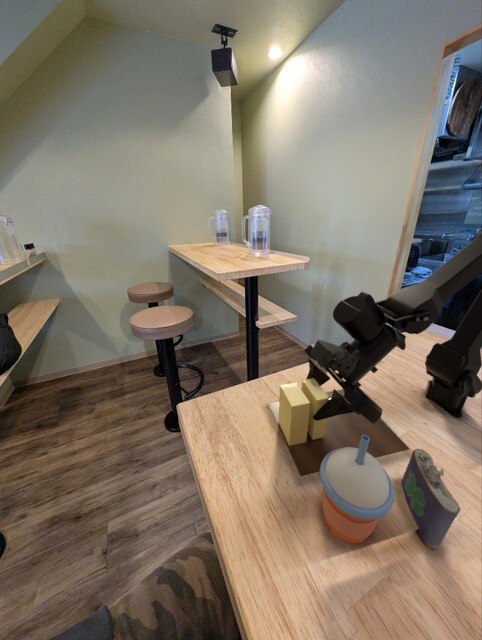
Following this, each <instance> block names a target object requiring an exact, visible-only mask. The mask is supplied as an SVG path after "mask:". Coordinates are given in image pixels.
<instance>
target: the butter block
mask: <svg viewBox="0 0 482 640" xmlns="http://www.w3.org/2000/svg"><path fill="white" fill-rule="evenodd" d="M301 389H302V387H300V385H299V383H298V382H291V383H287V384H286V383H285V384H280V385H279V397H278V398H279V399H278V401H279V425H280V427H281V429H282V431H283V433H284V436H285V438H286V440H287V442H288V444H289V446H291V445H296V444H300V443H305V442H306V440H307V430H308V421H309V411H310V402H309V400H308V399H307V397H306V396H305V394H304V393H303V391H302V390H301Z"/></svg>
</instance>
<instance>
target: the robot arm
mask: <svg viewBox="0 0 482 640" xmlns="http://www.w3.org/2000/svg"><path fill="white" fill-rule="evenodd" d="M481 274H482V230H481V231H478V232H477V233H476V234H475V235H474V236H473V237H472V240H471V241H470V242H469V243H468V244H467V245H466V246H464V247H463V248H462V249H461V250H459V251H458V252H457V253H456V254H454V255H453V256H452V257H451V258H449V259H448V260H447V261H446V262H445V263H443V264H442V265H441V266H440V267H438V268H437V269H436V270H435V271H433V272H432V273H431V274H429V275H428V276H427V277H426V278H425V279H424V280H422V281H420V282H419V283H416V284H412V285H409V286H406V287H403V288H401V289H399V290H398V291H396V292H395V293H393V294H392V295H390V296H388V297H387V298H386V299H381V300H378V301H375V299H374V297H373V296H372V295H371V294H370V293H368V292H365V291H362V290H361V291H360V293H359V294H357V295H352V296H349V297H346V298H345V299H343V300H340V301H339V302H338V303H337V304H336V306H335V307H334V308H333V312H332V318H333V320H334V321H335V322H336V323H337V324H338V325H339V326H340V327H341V328H342V329H343V330H344V331H345V332H346V333H347V334H348V335H349V336H350V337H351V339H353V341H352V342H351V343H349V342H348V341H343V342H342V343H341V344H340V345H336V344H334V343H332V342H328V341H326V340H323V339H317V340H316V342H315V343H310V344H309V345H308V346H307V347H306V348H305V349H304V350H303V351H304V353H306V355H307V356H308V357H309V358H308V359H307V362H308V367H309V368H308V369H309V370H308V374H307V376H306V378H305V380H306V379H311V378H314V379H315V380H316V382H317V383H318V384H319V385H320V387H321V386H323V385H324V384H326V383H327V382H329V381H330V380H331V378H333V380H334V381H335V382H336V383H337V384H338V385H339V386H340V388H341V389H344V392H342V393H341V394H340V393H339V392H338V391H337V389H335V388H333V390H332V391H333V394H332V398H331V399H330V400H329V401H328V402H327V403H326V404H325V405H324V406H323V407H322V408H320V409H319V410H318V411H317V413H316V414H315V415H314V416H313V419H314V420H316V421H318V420H322V419H326V418H329V417H333V416H337V415H341V414H347V413H353V412H355V413H357V414H358V415H360V414H361V415H362V416H364V417H365V418H366V419H368V420H369V421H370V422H371V423H373V424H374V423H375V422H376V421H377V420H379V419H380V418H381V419H382V415H383V410H384V409H383V408H382V407H381V406H380V405H379V404H378V403H377V402H376V401H375V400H374V399H373V398H372V397H371V396H369V394H368V393H366V392H365V391H364V390H363V389H361V386H362V383H360V381H361V380H362V379H363V378H364V377H365V376H366V375H368V373H370V372H372V374H376V373H377V372H378V371H379V369H378V368H377V367H376V366H377V365H378V364H379V363H380V362H381V361H383V359H384V358H386V357H387V355H389V354H390V353H391V352H392V351H393V350H394V349H396V348H398V349H399V350H401V351H405V350H406V347H407V344H406V338H407V335H405V334H404V333H402V332H400V331H403V332H405V333H406V334H409V335H419V334H421V333H423V332H425V331H426V330H427V329H428V328H429V327H430V326H431V325H432V324H433V323H434V322H436V321H437V319H439V318H440V317H441V314H442V311H443V308H444V307H443V306H444V305H445V303H446V302H447V301H448V300H449V299H451V298H452V297H453V296H455V294H457V293H458V292H459V291H461V290H462V289H463V288H464V287H466V286H467V285H469V283H470V282H472V281H473V280H475V279H476V278H477V277H478V276H480V275H481ZM393 327H394V328H395V329H397V330H395V329H394V328H393ZM481 350H482V289H481V290H480V291H479V293H478V295H477V297H476V298H475V299H474V301H473V303H472V304H471V306H470V307H469V309H468V310H467V313H465V316H464V318H463V319H462V320H461V322H460V324H459V325H458V327H457V328H456V330H455V331H454V333H453V335H452V337H451V338H449V339H448V340H446V341H444V342H442V343H440V342H436V343H434V344H433V345H432V348H431V350H430V352H429V353H428V354H427V355H426V356H425V362H424V365H425V372H426V374H427V375H428V376H430V377H432V379H429V380H428V381H427V384H426V387H425V389H424V397H425V399H428V400H430V401H432V402H433V403H435V405H437V406H439V407H440V408H441V409H442V410H444V411H445V412H446V413H447V414H449V415H450V416H454V417H457V418H460V419H461V418H463V415H464V414H463V408H464V406H465V404H466V402H467V399H468V398H475V397H476V396H477V394H479V393H480V392H482V379H481V378H480V377H479V376H478V374H479V372H480V370H481V368H482V353H481ZM310 358H311V359H310ZM336 371H337V372H336ZM328 374H329V375H328ZM330 376H331V377H330ZM301 390H302V388H301Z"/></svg>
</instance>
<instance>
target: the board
mask: <svg viewBox="0 0 482 640" xmlns="http://www.w3.org/2000/svg"><path fill="white" fill-rule="evenodd" d="M336 391H338V392H339V393H340V394H341V393H342V392H344V389H343V388H341V389H336ZM325 393H326V394H327V396H328V397H329V398H332V394H333V390H332V391H327V392H326V391H325ZM268 406H269V409H270V411H271V413H272V415H273V418H274V420H275V422H276V425H277V426H278V429H279V431H280V434H281V435H282V438H283V441H284V442H285V445H286V447H287V449H288V452H289V454H290V456H291V458H292V460H293V462H294V465H295V468H296V469H297V472H298V474H299V476H300V477H304V476H308V475H313V474H317V473H320V466H321V463H322V461H323V459H324V457H325V456H326V455H327V454H328V453H330V452H331V451H333V450H336V449H340V448H345V447H353V448H358V449H359V445H360V441H361V436H362V435H367V436H368V437H369V443H368V447H367V451H366V452H367V453H369V454H370V455H371V456H373V457H374V458H375V459H377V458H380V457H384V456H387V455H392V454H396V453H401V452H404V451H408V450H410V447H409V446H408V445H407V443H405V442H404V441H403V439H401V438H400V437H399V436H398V435H397V434H396V433H395V432H394V431H393V429H391V427H389V425H388V424H387V423H386V422H385V421H384V420H383V419H382V417H381V418H380V419H379V420H377V421H376V422H375V423H374V424H373V423H371V422H370V421H369V420H368V419H366V418H365V417H364V416H362V415H361V414H360V415H358V414H357V413H355V412H353V413H347V414H341V415H337V416H333V417H329V418H326V425H325V432H324V437H322V438H318V439H313V440H312V438H311V436H310V435H309V433H308V431H307V440H306V442H305V443H300V444H296V445H291V446H289V444H288V442H287V440H286V438H285V436H284V433H283V431H282V429H281V427H280V425H279V400H278V401H273V402H268Z"/></svg>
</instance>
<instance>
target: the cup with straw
mask: <svg viewBox="0 0 482 640" xmlns="http://www.w3.org/2000/svg"><path fill="white" fill-rule="evenodd" d="M368 443H369V437H368V436H367V435H362V436H361V441H360V445H359V449H358V448H353V447H345V448H340V449H336V450H333V451H331V452H330V453H328V454H327V455H326V456H325V457H324V459H323V461H322V463H321V466H320V472H319V478H320V479H319V480H320V483H321V486H322V501H321V503H322V504H321V505H322V509H323V510H322V511H323V516H324V520H325V523H326V525H327V526H328V528H329V529H330V531H331V532H332V533H333V534H334V535H335V537H337V538H339V539H340V540H342V541H343V542H345V543H349V544H360V543H362V542H364V541H366V539H367V538H368V537H369V536H370V535H371V534H372V533H373V532H374V530H375V528H376V526H377V525H378V523H379V522H380V520H381V518H383V517H385V516H386V515H387V514H389V513H390V511H391V509H392V507H393V505H394V501H395V490H394V485H393V482H392V480H391V478H390V476H389V474H388V473H387V471H386V469H385V468H384V467H383V466H382V464H381V463H380V462H379V461H378V460H377V458H374V457H373V456H371V455H370V454H369V453H367V452H366V451H367V447H368Z"/></svg>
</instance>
